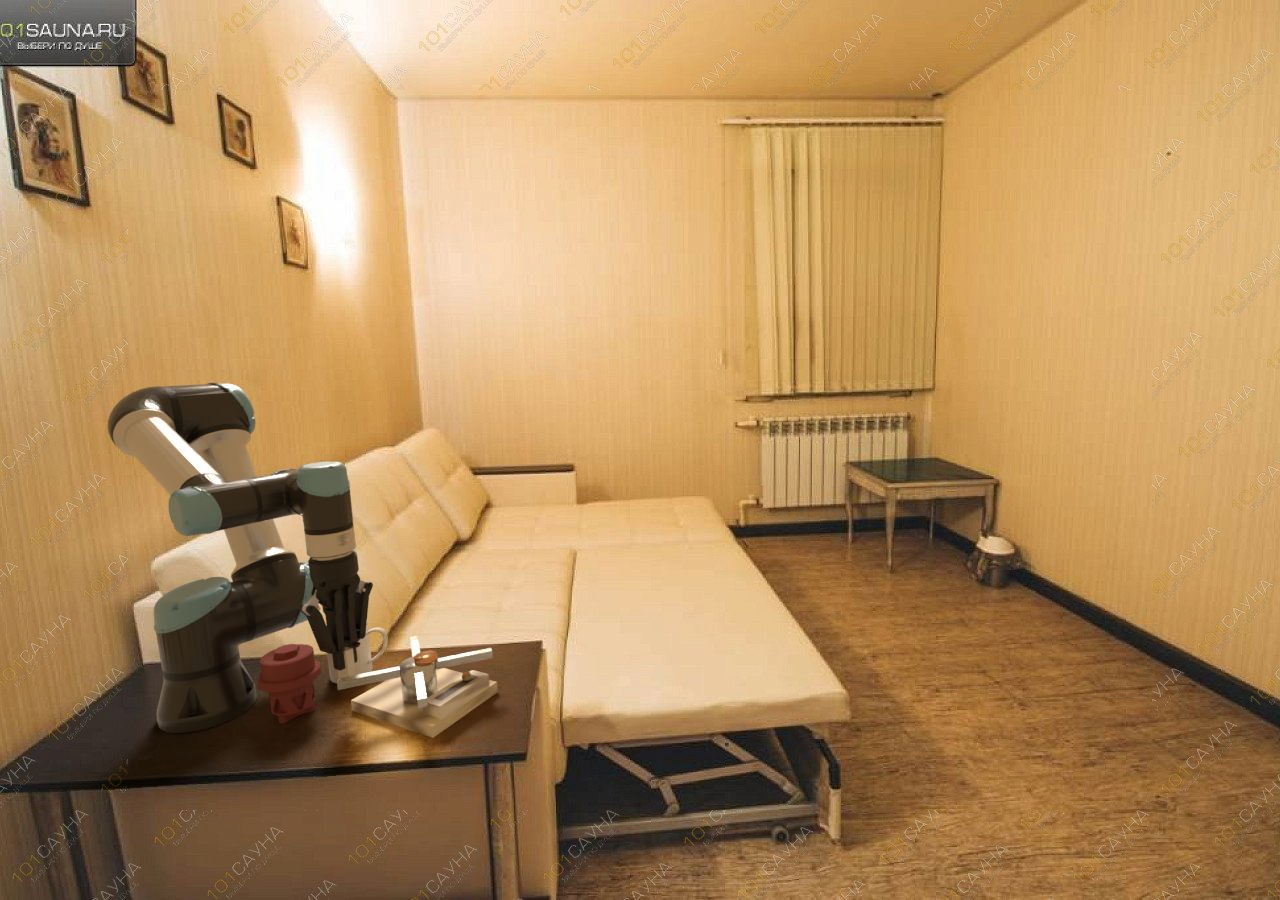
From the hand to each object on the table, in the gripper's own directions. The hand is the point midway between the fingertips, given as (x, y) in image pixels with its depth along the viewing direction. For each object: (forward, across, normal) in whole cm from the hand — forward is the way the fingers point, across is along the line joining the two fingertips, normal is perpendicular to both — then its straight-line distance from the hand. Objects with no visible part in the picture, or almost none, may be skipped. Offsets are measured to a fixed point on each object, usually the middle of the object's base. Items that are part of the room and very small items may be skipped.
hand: (348, 683), depth 113 cm
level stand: (+6, +9, -8) cm, 14 cm away
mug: (+7, +12, +12) cm, 18 cm away
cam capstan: (+4, +7, -9) cm, 12 cm away
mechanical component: (+7, -4, +11) cm, 13 cm away
